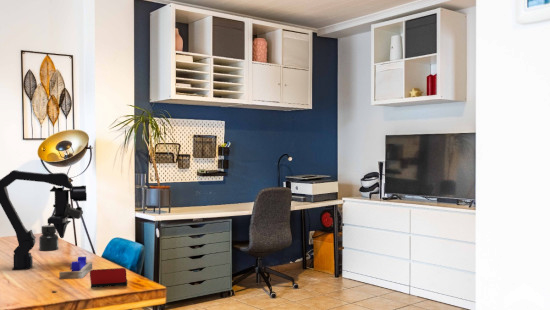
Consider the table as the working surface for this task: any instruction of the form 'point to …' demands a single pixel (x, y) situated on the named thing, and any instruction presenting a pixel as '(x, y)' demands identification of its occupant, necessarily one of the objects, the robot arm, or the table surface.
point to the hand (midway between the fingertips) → (62, 237)
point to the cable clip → (79, 264)
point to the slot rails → (76, 272)
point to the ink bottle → (48, 238)
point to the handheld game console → (108, 277)
